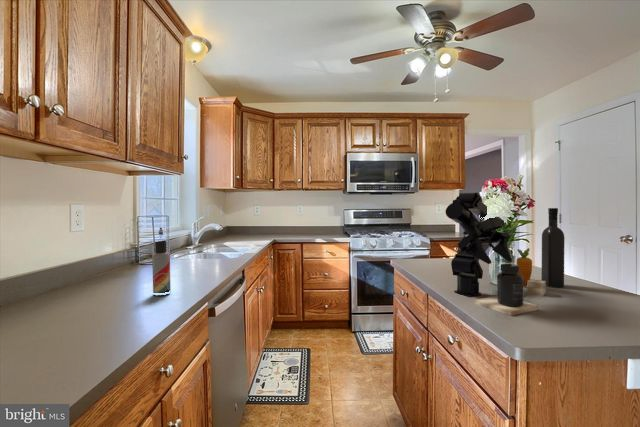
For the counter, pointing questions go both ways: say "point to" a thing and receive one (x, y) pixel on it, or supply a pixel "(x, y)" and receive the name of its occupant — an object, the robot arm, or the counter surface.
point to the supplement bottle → (510, 286)
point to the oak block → (536, 287)
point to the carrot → (524, 266)
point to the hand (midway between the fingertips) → (500, 262)
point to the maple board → (493, 304)
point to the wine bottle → (553, 252)
